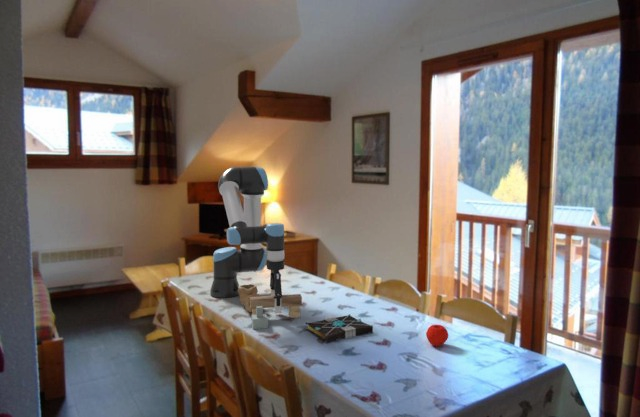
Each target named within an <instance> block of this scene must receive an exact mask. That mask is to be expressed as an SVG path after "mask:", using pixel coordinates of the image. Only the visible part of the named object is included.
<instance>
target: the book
mask: <svg viewBox="0 0 640 417" xmlns="http://www.w3.org/2000/svg"><path fill="white" fill-rule="evenodd" d="M305 325H307V328H305V330H306V331H307V332H310V333H311V334H313V335H314V336H315V337H317V338H319V339H320V340H321V341H323V342H324V343H325V344H328V343H329V342H333V341H334V342H335V341H338V340H343V339H350V338H355V337H358V336H361V335H368V334H374V329H373V327H374V326H373V324H369V323H366V322H365V321H364V322H363V321H362V319H361V318H359V319H357V318H355V317H353V316H351V314H348V315H343V316H342V315H341V316H339V317H328V318H324V319H321V320H315V321H305Z"/></svg>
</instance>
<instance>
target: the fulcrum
mask: <svg viewBox="0 0 640 417" xmlns="http://www.w3.org/2000/svg"><path fill="white" fill-rule="evenodd" d="M251 327H252V329H253V330H258V329H259V330H260V329H268V328H269V318H268V315H267V314H266V313H264V308H263V307H262V306H256V315H252V314H251Z"/></svg>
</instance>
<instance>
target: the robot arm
mask: <svg viewBox="0 0 640 417" xmlns="http://www.w3.org/2000/svg"><path fill="white" fill-rule="evenodd" d="M217 187H218V191H219V194H220V195H221V196H222V200H223V204H224V205H223V206H224V209H225V212H226V217H227V220H228V225H229V227H228V228H227V230H226V242H227V243H228V245H231V246H227V247H223V248H222V247H221V248H218V249H216V250H215V251H214V252H213V257H212V262H213V263H212V266H213V268H212V269H213V270H212V271H213V280H212V284H211V286H210V292H209V293H210V296H211V297H213V298H223V299H224V298H225V299H226V298H232V297H237V296H240V295H239V293H238V286H240V284H239V281H238V276H237V274H239V273H249V272H250V273H252V272H254V273H255V272H260V271H262V270H264V268H265V267H266V269H267V270H269V271H270V279H269V280H270V281H269V288H270V296H274V299H275V307H274V314H275V315H276V314H282V307H281V298H282V295H283V292H282V290H283V289H282V274H281V272H280V271H282V270H284V269H285V260H284V259H285V225H284V224H283V223H277V222H275V223H274V222H273V223H268V224H264V225H261V219H262V218H261V216H262V213H261V211H262V197H263V196H264V194H265V191H267V190H268V188H269V179H268V175H267V172H266V170H265V169H264V168H263V167H261V166H259V167H258V166H240V167H239V166H234V167H230V168H228V169H226V170H225V171H223V173H222V174H221V176H220V177H219V180H218V184H217ZM239 191H240V194H239ZM240 195H241V196H242V197H243V205H242V202H241V198H240ZM263 244H266V248H264V245H263ZM232 245H233V246H232ZM235 246H239V247H240V249H237V247H235Z"/></svg>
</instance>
